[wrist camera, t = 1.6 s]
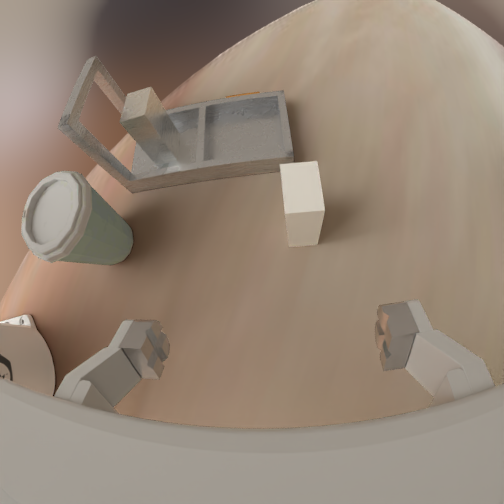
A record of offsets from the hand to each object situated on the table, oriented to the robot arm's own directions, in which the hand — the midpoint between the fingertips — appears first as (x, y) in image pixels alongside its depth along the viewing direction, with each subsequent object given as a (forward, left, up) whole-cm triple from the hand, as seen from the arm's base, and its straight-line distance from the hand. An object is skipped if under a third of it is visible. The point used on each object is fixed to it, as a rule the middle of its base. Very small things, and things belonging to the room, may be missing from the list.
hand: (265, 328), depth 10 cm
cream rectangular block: (+3, +12, -24) cm, 27 cm away
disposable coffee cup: (-23, +12, -24) cm, 36 cm away
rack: (-9, +26, -24) cm, 37 cm away
